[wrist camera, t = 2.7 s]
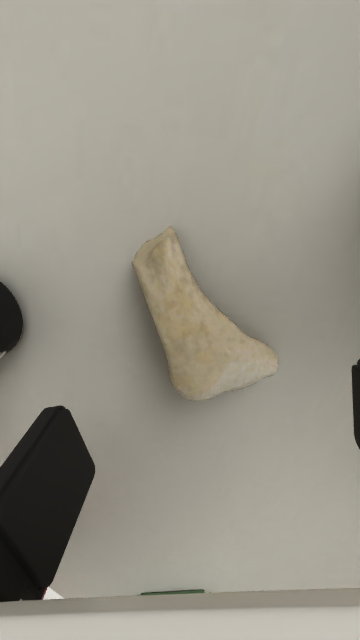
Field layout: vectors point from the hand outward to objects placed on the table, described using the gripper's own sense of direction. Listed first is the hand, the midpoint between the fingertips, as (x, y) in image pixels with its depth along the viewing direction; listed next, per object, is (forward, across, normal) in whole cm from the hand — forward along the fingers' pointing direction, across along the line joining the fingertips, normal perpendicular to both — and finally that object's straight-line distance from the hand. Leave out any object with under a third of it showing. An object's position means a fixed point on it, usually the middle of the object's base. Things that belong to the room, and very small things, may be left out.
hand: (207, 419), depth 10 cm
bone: (+11, 0, 0) cm, 11 cm away
